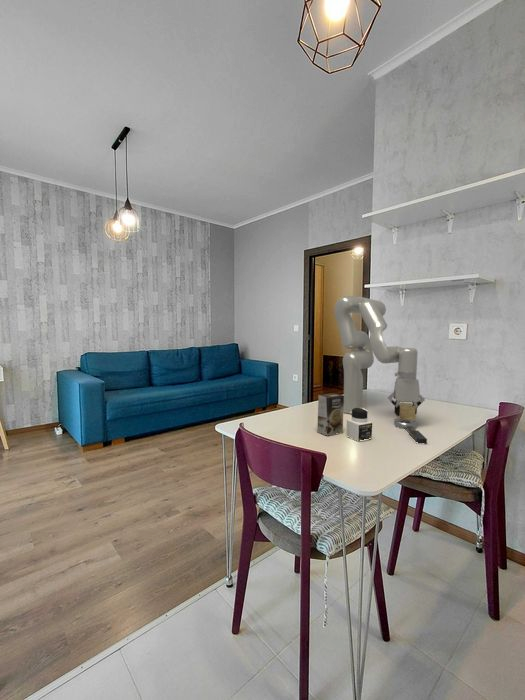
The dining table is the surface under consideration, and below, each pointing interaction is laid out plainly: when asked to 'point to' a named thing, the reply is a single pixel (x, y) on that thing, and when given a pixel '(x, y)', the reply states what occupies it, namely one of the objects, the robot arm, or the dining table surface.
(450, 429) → the dining table surface
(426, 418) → the dining table surface
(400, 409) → the brass-coloured cube
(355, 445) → the dining table surface
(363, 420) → the medicine bottle
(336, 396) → the coffee box
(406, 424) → the ratchet
